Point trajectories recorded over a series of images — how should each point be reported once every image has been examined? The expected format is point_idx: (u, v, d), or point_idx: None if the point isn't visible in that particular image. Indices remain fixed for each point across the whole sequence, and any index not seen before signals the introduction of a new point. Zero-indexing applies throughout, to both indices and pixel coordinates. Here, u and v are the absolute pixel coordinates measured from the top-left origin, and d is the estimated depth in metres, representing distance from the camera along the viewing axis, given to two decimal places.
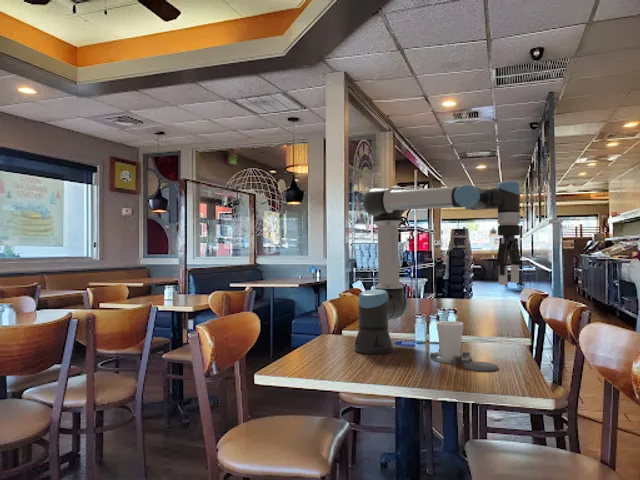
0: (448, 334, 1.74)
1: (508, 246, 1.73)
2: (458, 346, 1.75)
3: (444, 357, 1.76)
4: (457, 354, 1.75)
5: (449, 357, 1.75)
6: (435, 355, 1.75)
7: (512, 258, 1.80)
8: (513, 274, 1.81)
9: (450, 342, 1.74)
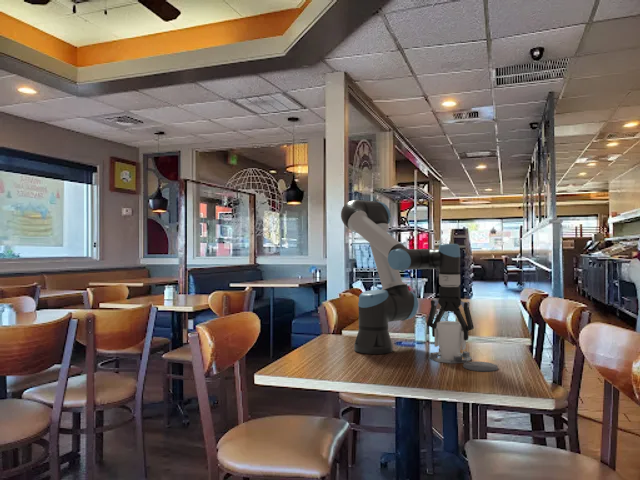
0: (448, 334, 1.74)
1: (441, 307, 1.79)
2: (458, 346, 1.75)
3: (444, 357, 1.76)
4: (457, 354, 1.75)
5: (449, 357, 1.75)
6: (435, 355, 1.75)
7: None
8: None
9: (450, 342, 1.74)
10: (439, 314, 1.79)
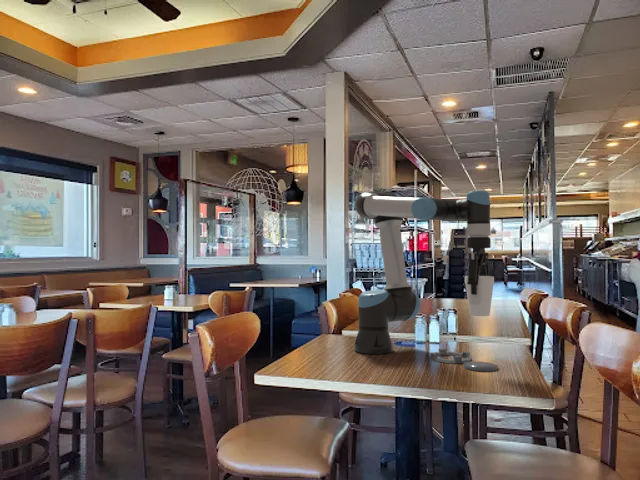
0: None
1: None
2: None
3: None
4: (473, 309, 1.63)
5: (469, 311, 1.66)
6: (435, 355, 1.75)
7: None
8: None
9: (467, 295, 1.66)
10: None
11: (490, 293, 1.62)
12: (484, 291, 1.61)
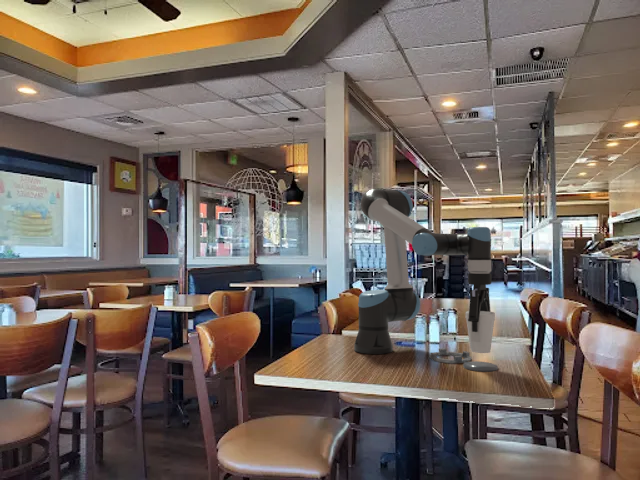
0: None
1: None
2: None
3: None
4: (474, 345, 1.62)
5: (470, 347, 1.65)
6: (435, 355, 1.75)
7: None
8: None
9: (468, 330, 1.65)
10: None
11: (491, 330, 1.61)
12: (485, 328, 1.60)
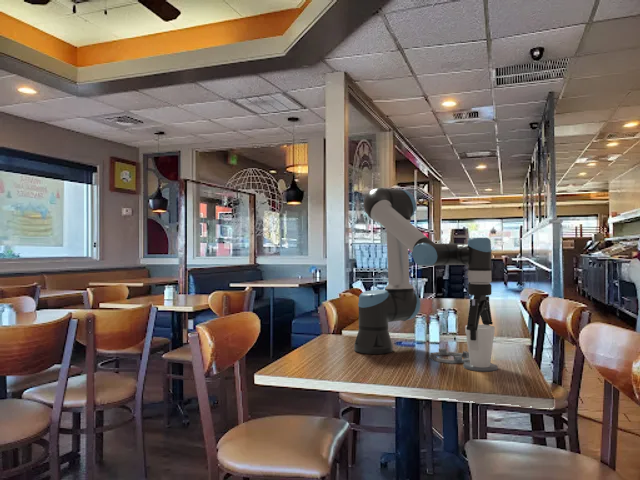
0: None
1: None
2: (473, 351, 1.62)
3: None
4: (473, 360, 1.63)
5: (470, 361, 1.66)
6: (435, 355, 1.75)
7: None
8: None
9: None
10: None
11: (491, 344, 1.62)
12: (485, 343, 1.60)
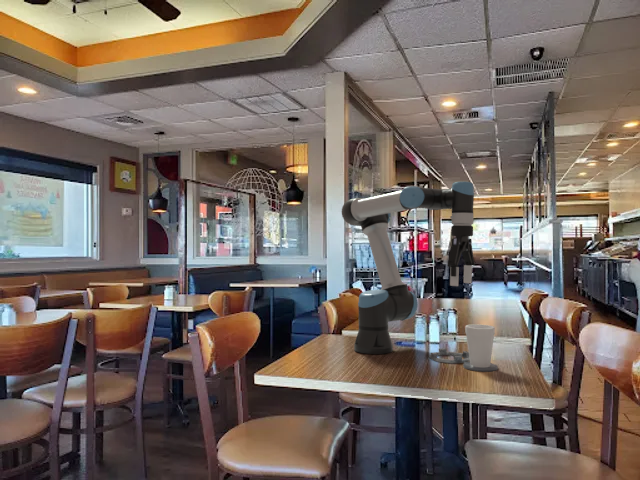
0: (466, 336, 1.66)
1: None
2: (473, 351, 1.62)
3: None
4: (473, 360, 1.63)
5: (470, 361, 1.66)
6: (435, 355, 1.75)
7: None
8: None
9: None
10: None
11: (491, 344, 1.62)
12: (485, 343, 1.60)
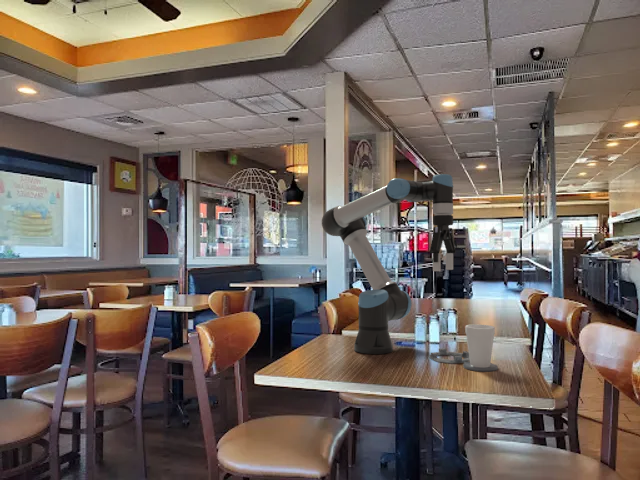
0: None
1: None
2: (473, 351, 1.62)
3: None
4: (473, 360, 1.63)
5: (470, 361, 1.66)
6: (435, 355, 1.75)
7: None
8: None
9: None
10: None
11: (491, 344, 1.62)
12: (485, 343, 1.60)
